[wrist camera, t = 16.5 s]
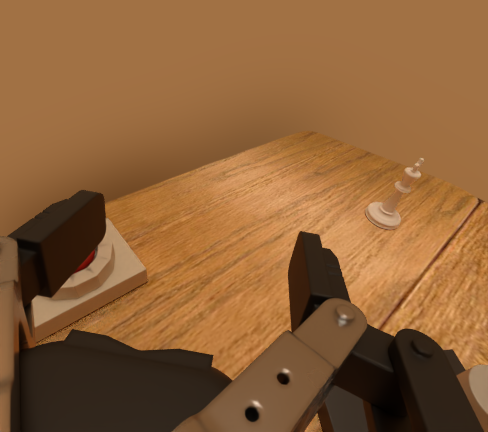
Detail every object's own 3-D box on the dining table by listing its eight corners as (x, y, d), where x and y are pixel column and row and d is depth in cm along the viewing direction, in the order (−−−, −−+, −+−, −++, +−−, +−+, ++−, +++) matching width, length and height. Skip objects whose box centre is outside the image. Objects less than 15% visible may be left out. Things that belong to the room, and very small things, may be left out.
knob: (389, 420, 23) (463, 386, 17) (411, 390, 25) (484, 351, 19) (430, 465, 21) (527, 445, 15) (450, 430, 23) (543, 401, 17)
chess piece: (404, 220, 44) (449, 164, 37) (389, 235, 41) (433, 176, 34) (375, 200, 46) (412, 143, 39) (358, 213, 43) (394, 154, 36)
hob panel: (354, 542, 19) (370, 544, 18) (306, 375, 26) (315, 366, 25) (520, 494, 23) (544, 492, 21) (439, 357, 29) (453, 348, 28)
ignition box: (34, 344, 24) (16, 321, 21) (4, 275, 28) (-14, 248, 25) (147, 281, 30) (145, 257, 27) (110, 231, 33) (105, 204, 31)
